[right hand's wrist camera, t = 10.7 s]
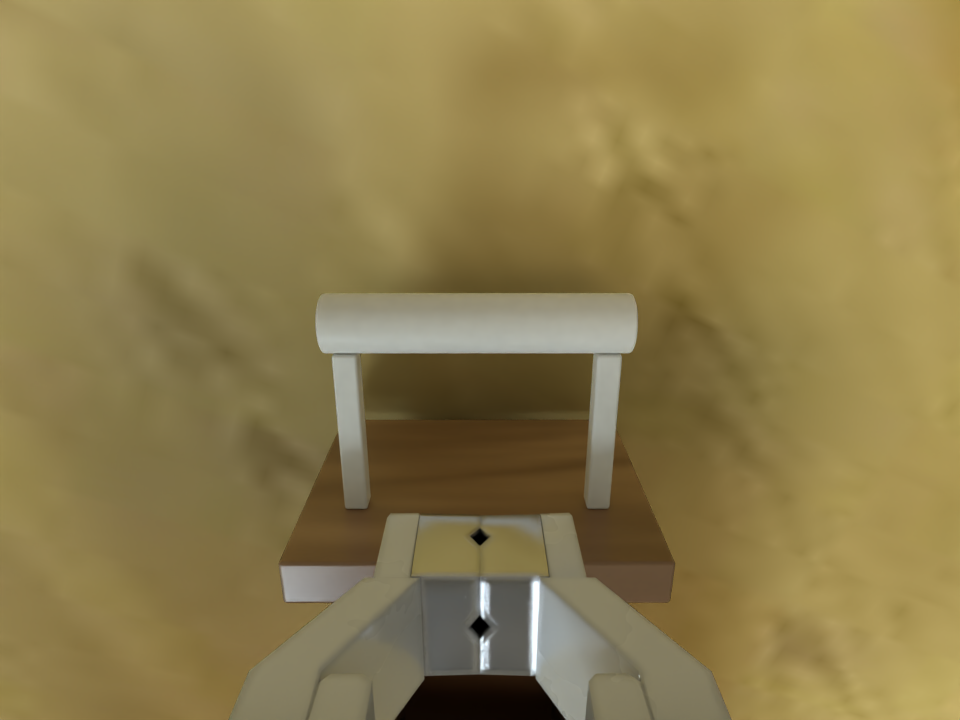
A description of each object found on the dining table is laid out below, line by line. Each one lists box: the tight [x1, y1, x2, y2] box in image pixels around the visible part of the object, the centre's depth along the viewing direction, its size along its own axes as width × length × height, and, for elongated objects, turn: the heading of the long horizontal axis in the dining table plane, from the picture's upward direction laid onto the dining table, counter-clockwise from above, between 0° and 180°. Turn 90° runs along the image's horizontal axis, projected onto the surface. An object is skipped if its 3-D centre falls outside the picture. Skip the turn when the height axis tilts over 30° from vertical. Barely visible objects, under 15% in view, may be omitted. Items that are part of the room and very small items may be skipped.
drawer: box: [279, 293, 675, 720], centre depth 20 cm, size 25×9×7 cm, turn 0°
